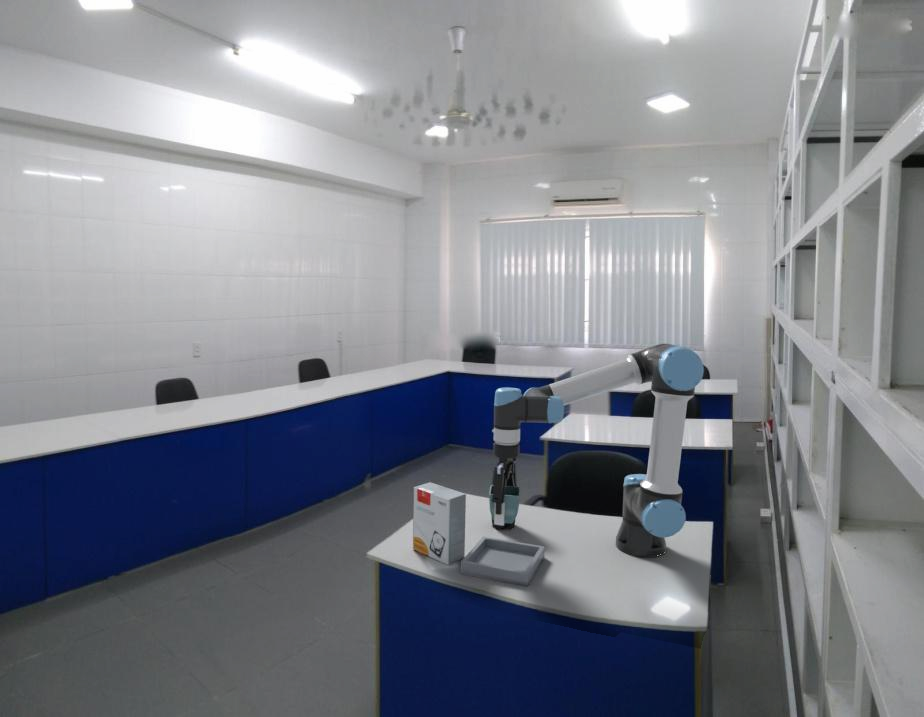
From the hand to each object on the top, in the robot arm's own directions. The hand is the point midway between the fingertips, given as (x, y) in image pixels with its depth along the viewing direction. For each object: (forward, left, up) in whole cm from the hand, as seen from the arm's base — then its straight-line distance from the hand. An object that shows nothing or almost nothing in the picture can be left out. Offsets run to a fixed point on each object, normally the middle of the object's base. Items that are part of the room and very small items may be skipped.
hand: (504, 518), depth 171 cm
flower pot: (0, 0, -1) cm, 1 cm away
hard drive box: (+20, 0, -14) cm, 25 cm away
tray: (0, 0, -14) cm, 14 cm away
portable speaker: (+9, -29, -14) cm, 34 cm away
